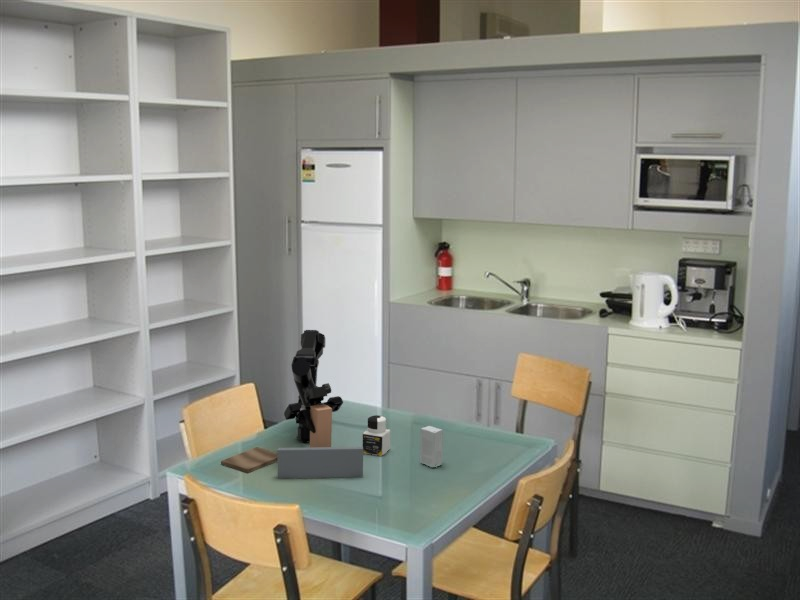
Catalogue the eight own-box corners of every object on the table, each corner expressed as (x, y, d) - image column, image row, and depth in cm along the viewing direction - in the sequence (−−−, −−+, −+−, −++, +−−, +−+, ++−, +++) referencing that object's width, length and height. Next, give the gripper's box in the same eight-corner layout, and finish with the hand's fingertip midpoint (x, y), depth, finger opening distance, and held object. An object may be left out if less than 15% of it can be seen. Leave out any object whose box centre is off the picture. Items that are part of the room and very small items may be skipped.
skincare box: (442, 465, 270) (443, 429, 268) (433, 469, 267) (434, 432, 265) (428, 460, 274) (429, 425, 272) (419, 463, 271) (420, 428, 269)
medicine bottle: (362, 453, 280) (362, 418, 278) (370, 446, 286) (371, 412, 284) (381, 456, 277) (382, 421, 275) (390, 449, 284) (390, 415, 282)
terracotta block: (323, 446, 271) (324, 404, 268) (330, 451, 267) (332, 408, 264) (309, 448, 268) (310, 406, 266) (316, 453, 264) (317, 410, 262)
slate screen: (278, 471, 263) (278, 443, 262) (361, 469, 266) (362, 442, 264) (277, 478, 257) (277, 450, 256) (362, 476, 260) (363, 448, 258)
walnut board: (257, 450, 281) (257, 447, 280) (283, 458, 274) (283, 454, 274) (221, 464, 268) (221, 460, 268) (248, 473, 261) (248, 469, 261)
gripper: (287, 379, 262) (303, 423, 254) (340, 371, 272) (357, 414, 264) (277, 397, 269) (292, 440, 262) (329, 389, 279) (345, 431, 272)
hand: (322, 431), depth 265 cm, fingers closed on terracotta block, 5 cm apart
